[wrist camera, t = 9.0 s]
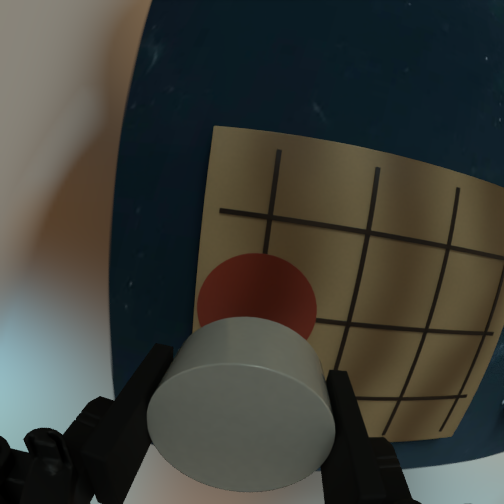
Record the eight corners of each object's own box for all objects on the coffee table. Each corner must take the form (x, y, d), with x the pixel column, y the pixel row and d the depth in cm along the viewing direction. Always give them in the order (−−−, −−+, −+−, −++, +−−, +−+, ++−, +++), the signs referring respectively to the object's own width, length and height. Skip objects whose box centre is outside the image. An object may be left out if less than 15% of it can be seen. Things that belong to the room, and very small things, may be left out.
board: (192, 414, 24) (187, 426, 23) (218, 129, 19) (213, 125, 18) (446, 427, 23) (452, 437, 22) (521, 197, 19) (533, 199, 17)
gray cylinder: (173, 423, 14) (151, 474, 10) (175, 303, 12) (142, 344, 9) (305, 443, 13) (309, 498, 10) (340, 327, 12) (360, 376, 9)
